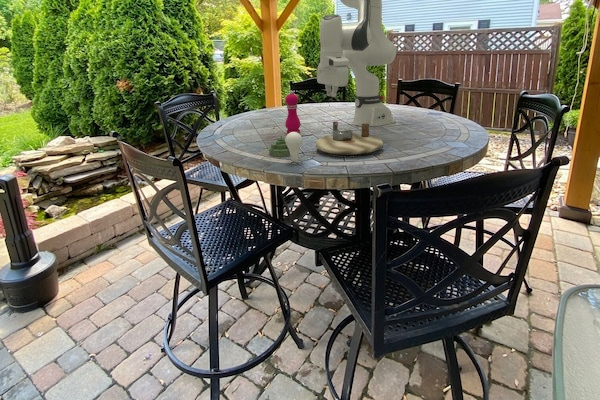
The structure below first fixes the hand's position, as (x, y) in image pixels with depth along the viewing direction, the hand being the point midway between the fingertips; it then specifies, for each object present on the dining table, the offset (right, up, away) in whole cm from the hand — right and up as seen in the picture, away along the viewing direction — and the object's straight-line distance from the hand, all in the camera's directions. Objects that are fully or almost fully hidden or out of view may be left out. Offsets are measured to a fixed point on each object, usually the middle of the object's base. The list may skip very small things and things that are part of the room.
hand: (331, 96), depth 152 cm
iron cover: (+4, -18, -1) cm, 18 cm away
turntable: (+6, -21, -5) cm, 22 cm away
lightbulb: (-15, -29, -17) cm, 36 cm away
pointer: (+2, -16, +10) cm, 19 cm away
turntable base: (+6, -22, -4) cm, 24 cm away
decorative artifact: (-20, -24, -5) cm, 32 cm away
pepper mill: (-16, -11, +25) cm, 32 cm away
